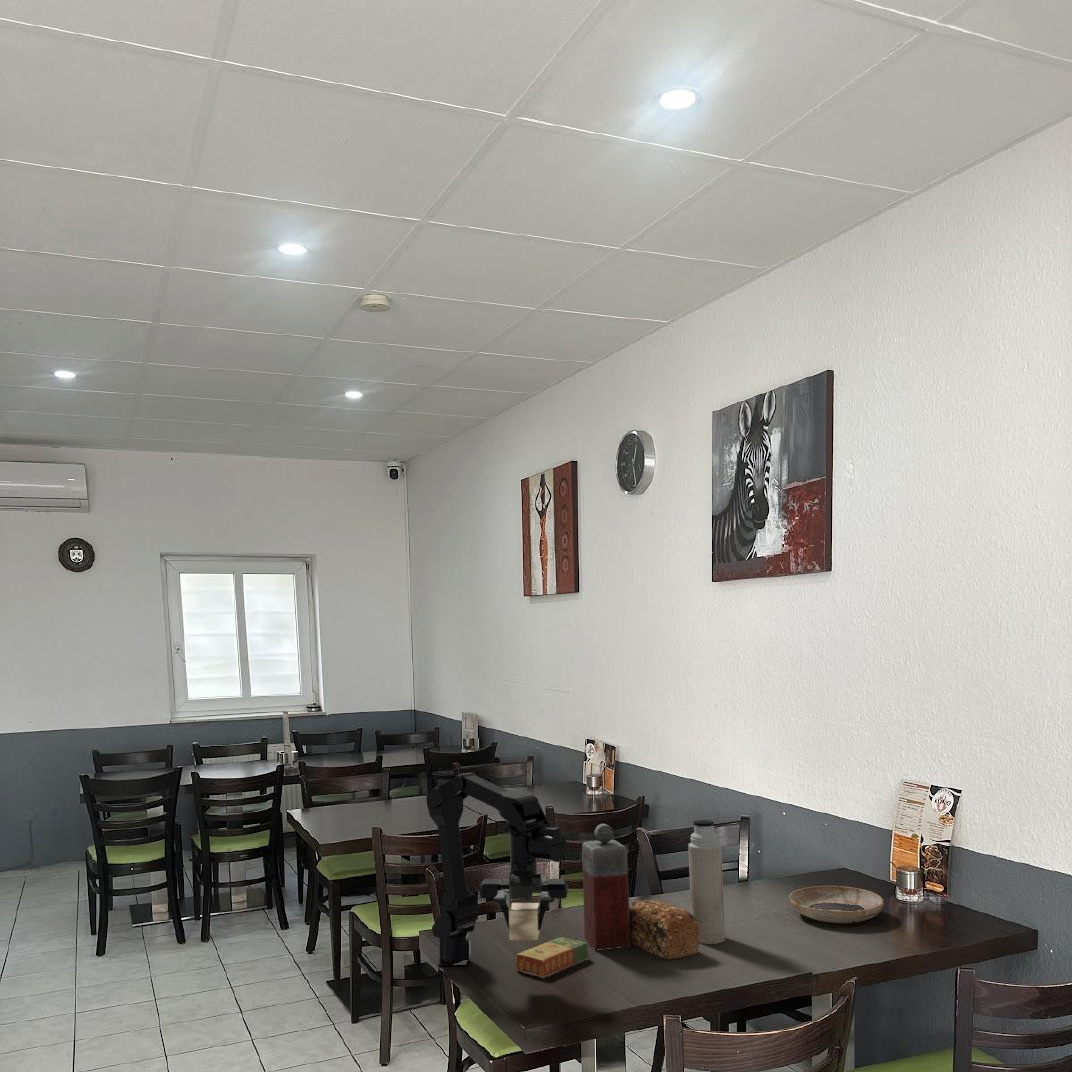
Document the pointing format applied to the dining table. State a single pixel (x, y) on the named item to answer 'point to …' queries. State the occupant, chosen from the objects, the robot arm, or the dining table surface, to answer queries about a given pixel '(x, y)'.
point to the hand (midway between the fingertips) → (524, 929)
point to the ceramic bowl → (836, 894)
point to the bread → (663, 929)
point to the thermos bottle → (707, 882)
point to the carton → (552, 956)
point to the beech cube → (523, 921)
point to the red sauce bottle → (605, 891)
